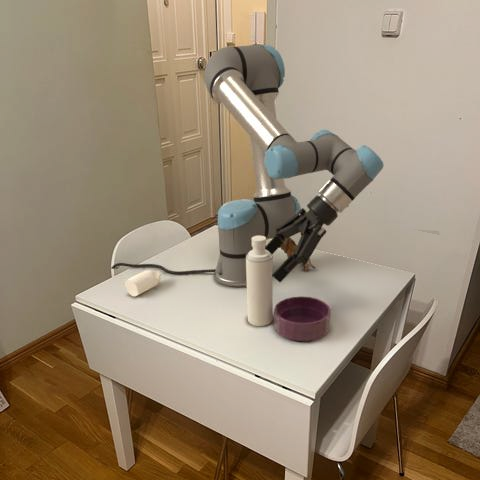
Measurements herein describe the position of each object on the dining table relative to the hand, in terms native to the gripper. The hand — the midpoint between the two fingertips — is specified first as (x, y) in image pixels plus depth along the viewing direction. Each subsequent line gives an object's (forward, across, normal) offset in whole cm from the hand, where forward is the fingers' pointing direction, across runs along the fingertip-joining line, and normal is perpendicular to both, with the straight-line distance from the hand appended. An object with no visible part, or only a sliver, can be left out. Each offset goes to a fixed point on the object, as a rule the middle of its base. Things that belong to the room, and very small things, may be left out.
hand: (268, 267), depth 124 cm
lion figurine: (-1, +32, -23) cm, 39 cm away
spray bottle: (+13, 0, -9) cm, 16 cm away
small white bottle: (+33, +27, +11) cm, 44 cm away
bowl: (+6, -7, -16) cm, 18 cm away
